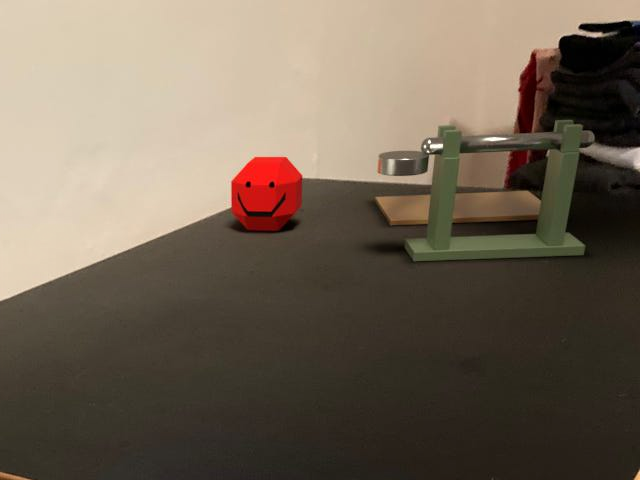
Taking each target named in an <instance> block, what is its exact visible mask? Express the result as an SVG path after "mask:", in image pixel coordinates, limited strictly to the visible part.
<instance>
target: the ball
mask: <svg viewBox="0 0 640 480" xmlns="http://www.w3.org/2000/svg"><path fill="white" fill-rule="evenodd" d="M303 178H304V177H303V174H302V173H301V172H300V171H299V170H298V169H297V167H296V166H295V165H294V163H292V162H291V160H290V159H289V158H288V157H287V156H254V157H253V158H252V159H251V160H249V161H248V162H247V163H246V164H245V165H244V166H243V168H242V169H240V171H239V172H238V173H237V174H236V175H235V176H234V178H233V179H232V180H231V181H230V187H231V188H230V195H231V196H230V197H231V199H230V204H231V207H230V208H231V211H230V212H231V213H232V214H233V216H235V218H236V219H237V220H238V221H239V222H240V223H241V224H242V225H243V227H244V228H245V229H246V230H247V231H271V232H272V231H273V232H274V231H275V232H278V231H280V230H281V229H282V228H283V227H284V225H286V224H287V223H288V222H289V221H290V220H291V218H292V217H293V216H294V215H295V214H296V213H297V212H298V211H299V209H301V207H302V203H303Z"/></svg>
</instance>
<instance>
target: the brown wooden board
mask: <svg viewBox="0 0 640 480" xmlns="http://www.w3.org/2000/svg"><path fill="white" fill-rule="evenodd" d="M430 196H431V194H419V195H418V194H417V195H415V194H413V195H390V196H389V195H388V196H375V197H374V202H375V204H376V206H377V207H378V209H379V210H380V212H381V213H382V215H383V216H384V218H385V220H386V221H387V223H388V224H389V226H414V225H417V226H418V225H428V216H429V206H430ZM540 205H541V200H540V199H539V198H538V197H537V196H536V195H534V194H533V193H532V192H530V191H529V190H515V191H514V190H511V191H487V192H464V193H463V192H462V193H456V194H455V203H454V211H453V220H452V224H463V223H464V224H465V223H488V222H515V221H517V222H518V221H538V217H539V211H540Z"/></svg>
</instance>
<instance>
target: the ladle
mask: <svg viewBox="0 0 640 480" xmlns="http://www.w3.org/2000/svg"><path fill="white" fill-rule="evenodd" d="M562 137H563V132H554V131H549V132H548V131H547V132H526V133H524V132H523V133H508V134H507V133H506V134H505V133H504V134H503V133H502V134H482V135H481V134H479V135H462V136H461V144H460V153H459V154H479V153H482V154H483V153H501V152H524V151H546V150H547V151H549V150H550V149H561V143H562ZM443 138H444V137H437V136H435V137H434V136H433V137H426V138H424V139H423V141H421V144H420V150H392V151H386V152H382V153H379V154H378V156H377V170H376V172H377V173H378V174H379V175H383V176H390V177H391V176H392V177H410V176H411V177H412V176H418V175H419V176H420V175H423V174H426V173H428V171H429V162H430V156H435V155H436V154H442V148H443ZM594 142H595V134H594V132H593V131H591V130H582V135H581V141H580V146H579V149H586V148H590V147H591V146H592V145H593V144H594Z"/></svg>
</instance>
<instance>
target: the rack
mask: <svg viewBox="0 0 640 480" xmlns="http://www.w3.org/2000/svg"><path fill="white" fill-rule="evenodd" d="M583 129H584V125H582V124H581V123H576V124H575V122H574V120H573V119H556V120H555V121H554V127H553V132H563V137H562V143H561V149H550V150H548V156H547V163H546V169H545V175H544V182H543V188H542V193H541V200H540V201H541V205H540V211H539V217H538V220H537V224H536V230H535V233H525V234H523V233H522V234H521V233H520V234H497V235H495V234H493V235H473V236H472V235H470V236H451V235H452V228H453V223H452V220H453V211H454V203H455V194H457V185H458V176H459V169H460V168H459V167H460V154H461V153H460V144H461V136H463V135H462V134H463V130H461V129H457V128H456V125H454V124H449V125H448V124H447V125H446V124H445V125H438V127H437V134H436V135H437V136H436V137H444V138H443V148H442V154H436V155H434V159H433V169H432V176H431V177H432V178H431V187H430V188H431V189H430V195H431V196H430V206H429V216H428V224H426V225H427V226H426V235H425V237H419V238H418V237H416V238H405V240H404V249H405V250H406V252H407V254H408V255H409V257H410V259H411V260H412V262H414V263H415V262H437V261H438V262H439V261H440V262H441V261H464V260H465V261H466V260H467V261H468V260H491V259H492V260H494V259H496V260H497V259H521V258H522V259H523V258H545V257H547V258H551V257H576V256H577V257H578V256H584V255H585V250H586V245H585V244H584V243H583V242H581V241H580V240H579V239H578V238H576V237H575V236H574V235H572V234H571V233H570V232H566V230H567V224H568V219H569V215H570V208H571V202H572V197H573V192H574V186H575V181H576V176H577V170H578V164H579V158H580V148H579V146H580V141H581V135H582V131H583Z"/></svg>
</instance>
